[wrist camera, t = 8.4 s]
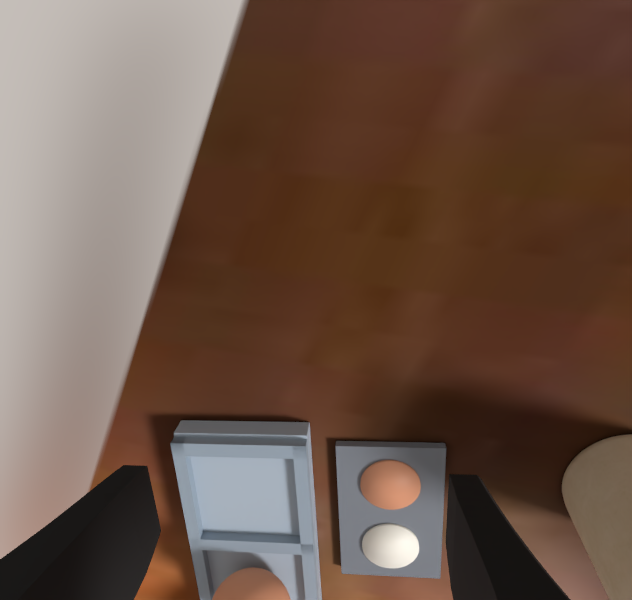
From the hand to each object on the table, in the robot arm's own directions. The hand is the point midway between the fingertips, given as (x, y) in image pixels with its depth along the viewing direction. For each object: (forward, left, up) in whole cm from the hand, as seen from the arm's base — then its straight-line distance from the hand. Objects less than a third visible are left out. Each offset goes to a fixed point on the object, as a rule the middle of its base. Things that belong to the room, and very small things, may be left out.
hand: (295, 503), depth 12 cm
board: (+4, +15, -10) cm, 19 cm away
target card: (-2, +10, -10) cm, 15 cm away
